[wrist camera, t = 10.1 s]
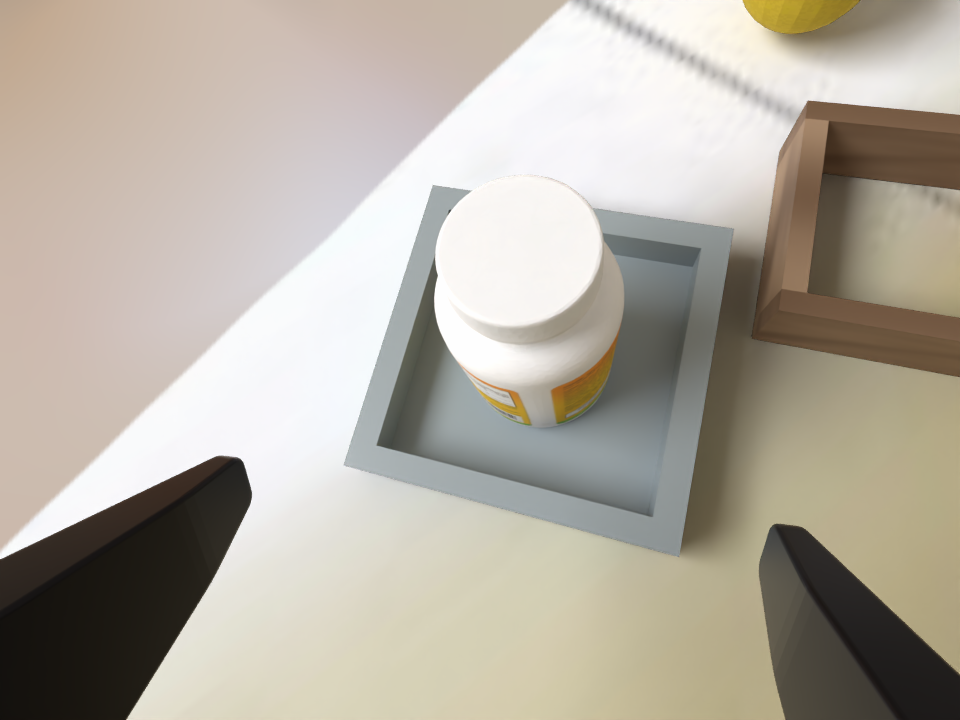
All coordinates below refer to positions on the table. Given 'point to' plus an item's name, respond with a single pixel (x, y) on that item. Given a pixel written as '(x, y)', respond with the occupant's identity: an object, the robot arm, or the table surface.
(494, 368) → the supplement bottle
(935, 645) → the table surface
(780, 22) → the lemon
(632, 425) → the parts tray
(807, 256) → the brown wooden open box
